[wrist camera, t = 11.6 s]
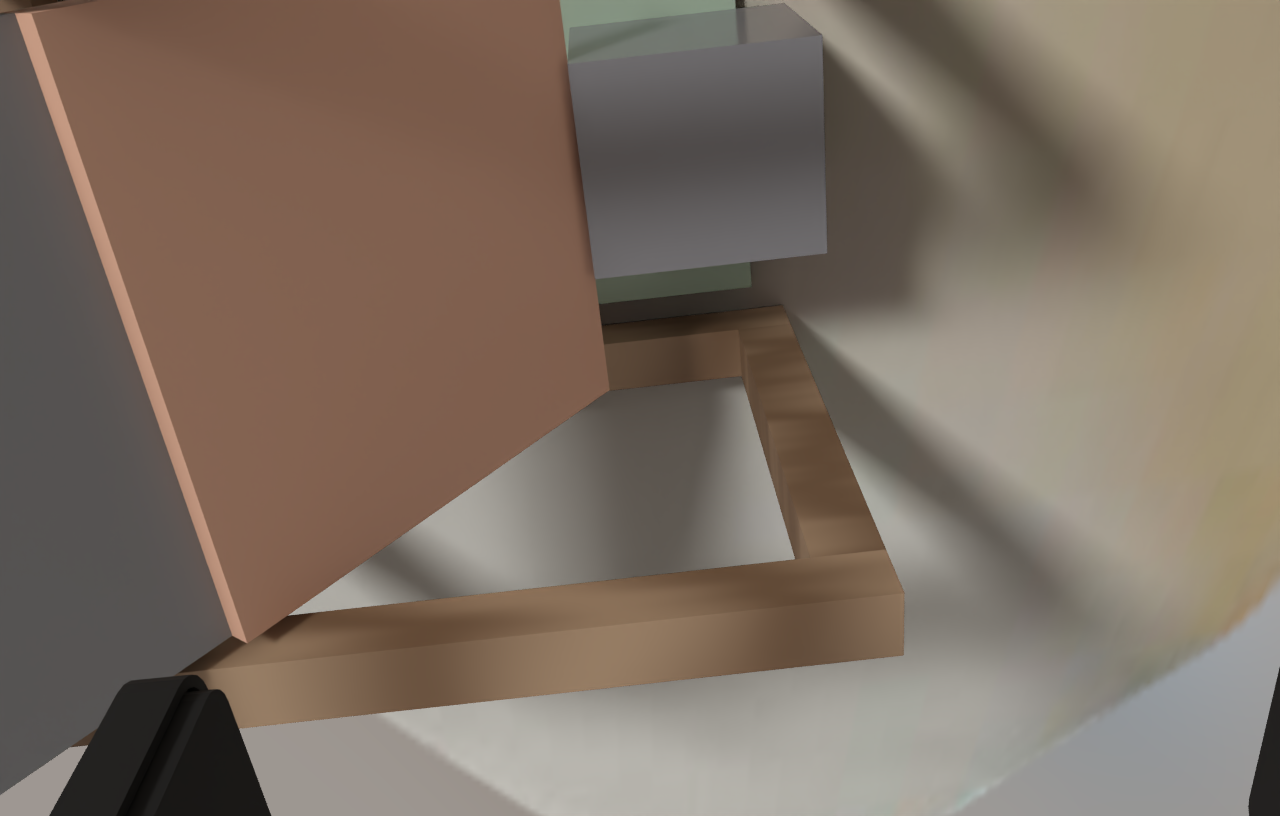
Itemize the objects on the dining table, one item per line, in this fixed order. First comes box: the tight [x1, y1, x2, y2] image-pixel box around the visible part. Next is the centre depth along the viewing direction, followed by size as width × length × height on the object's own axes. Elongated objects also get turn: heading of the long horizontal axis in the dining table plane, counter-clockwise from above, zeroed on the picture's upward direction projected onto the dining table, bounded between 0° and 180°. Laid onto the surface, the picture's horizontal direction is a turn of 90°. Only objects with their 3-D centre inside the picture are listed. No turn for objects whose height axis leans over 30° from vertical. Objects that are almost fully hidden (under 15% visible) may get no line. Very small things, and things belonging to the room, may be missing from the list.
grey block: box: [567, 3, 827, 279], centre depth 29 cm, size 5×5×6 cm
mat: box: [560, 0, 752, 304], centre depth 32 cm, size 11×11×1 cm
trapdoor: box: [0, 0, 610, 795], centre depth 22 cm, size 18×12×4 cm
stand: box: [0, 0, 904, 747], centre depth 26 cm, size 21×16×15 cm
